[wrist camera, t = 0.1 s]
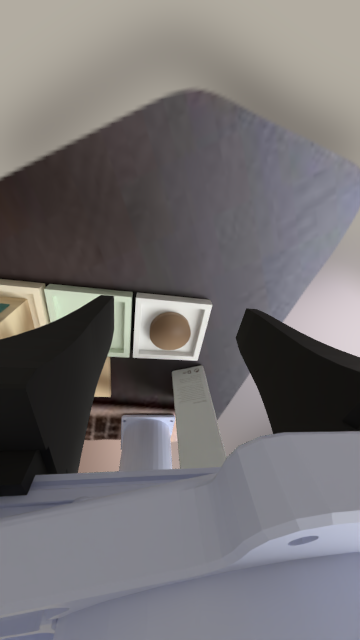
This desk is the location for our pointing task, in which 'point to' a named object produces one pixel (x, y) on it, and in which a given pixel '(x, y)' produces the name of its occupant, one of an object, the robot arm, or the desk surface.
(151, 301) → the tray white
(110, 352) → the tray sage
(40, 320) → the tray sand
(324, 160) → the desk surface
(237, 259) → the desk surface
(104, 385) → the cork pad
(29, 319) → the beige block teal panels
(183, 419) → the skincare box
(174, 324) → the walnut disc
